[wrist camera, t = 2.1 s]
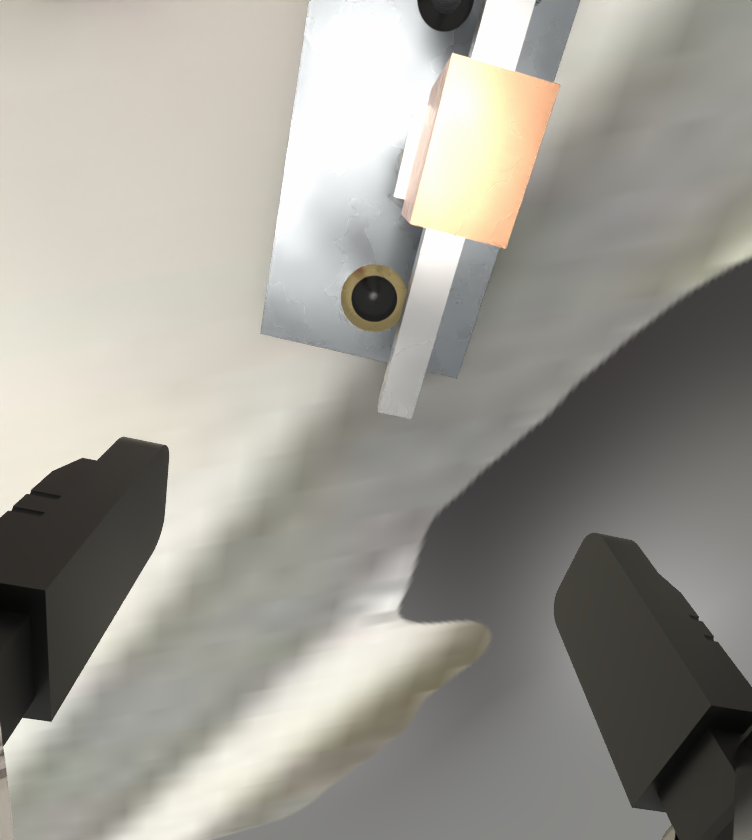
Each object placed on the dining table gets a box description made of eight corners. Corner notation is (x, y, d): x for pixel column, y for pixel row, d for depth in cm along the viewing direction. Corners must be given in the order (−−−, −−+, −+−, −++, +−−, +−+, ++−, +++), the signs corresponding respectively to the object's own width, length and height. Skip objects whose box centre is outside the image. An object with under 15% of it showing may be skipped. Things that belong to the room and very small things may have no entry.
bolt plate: (332, -136, 22) (308, -327, 14) (590, -51, 23) (710, -180, 15) (263, 329, 30) (223, 382, 22) (454, 372, 32) (482, 438, 24)
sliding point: (405, 115, 24) (436, 48, 12) (476, 135, 25) (575, 89, 13) (385, 203, 26) (395, 220, 14) (452, 220, 26) (519, 252, 14)
